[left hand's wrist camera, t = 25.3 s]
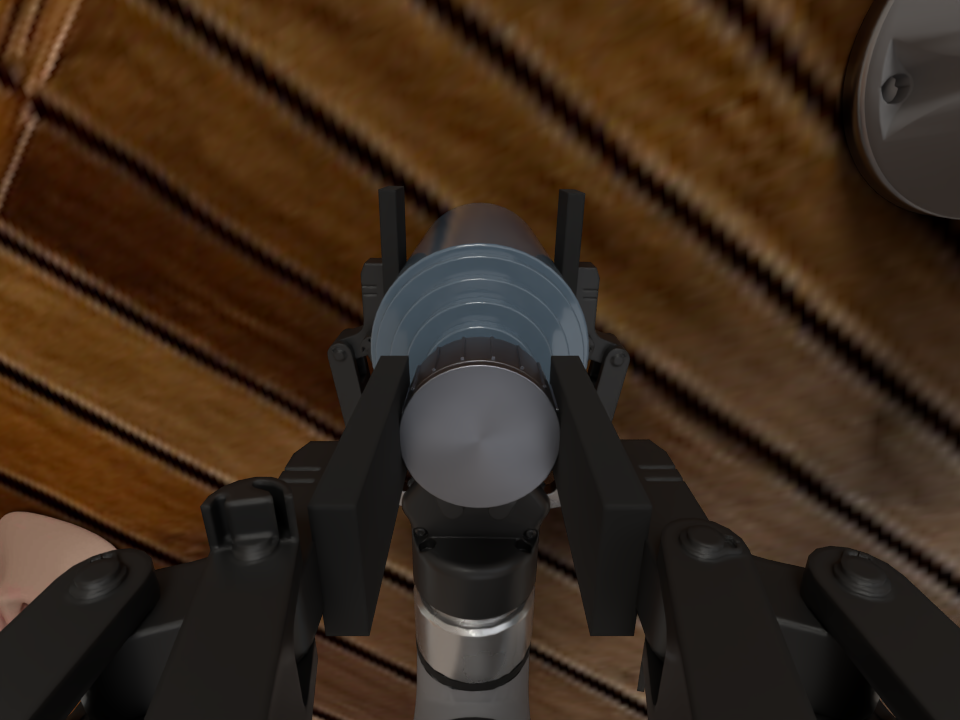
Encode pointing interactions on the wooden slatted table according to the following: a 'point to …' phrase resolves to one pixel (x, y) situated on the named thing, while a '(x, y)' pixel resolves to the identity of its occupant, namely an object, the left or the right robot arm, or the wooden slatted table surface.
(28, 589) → the anatomical model
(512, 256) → the bottle
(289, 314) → the wooden slatted table surface
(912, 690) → the left robot arm
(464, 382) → the cap
